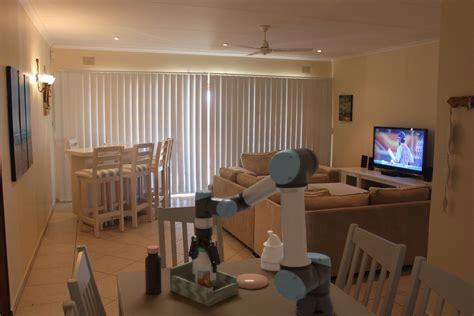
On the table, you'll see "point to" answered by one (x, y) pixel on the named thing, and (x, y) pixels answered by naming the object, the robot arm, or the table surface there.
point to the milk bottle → (203, 270)
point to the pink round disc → (252, 281)
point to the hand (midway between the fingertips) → (204, 276)
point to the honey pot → (272, 253)
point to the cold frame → (186, 286)
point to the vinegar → (153, 270)
